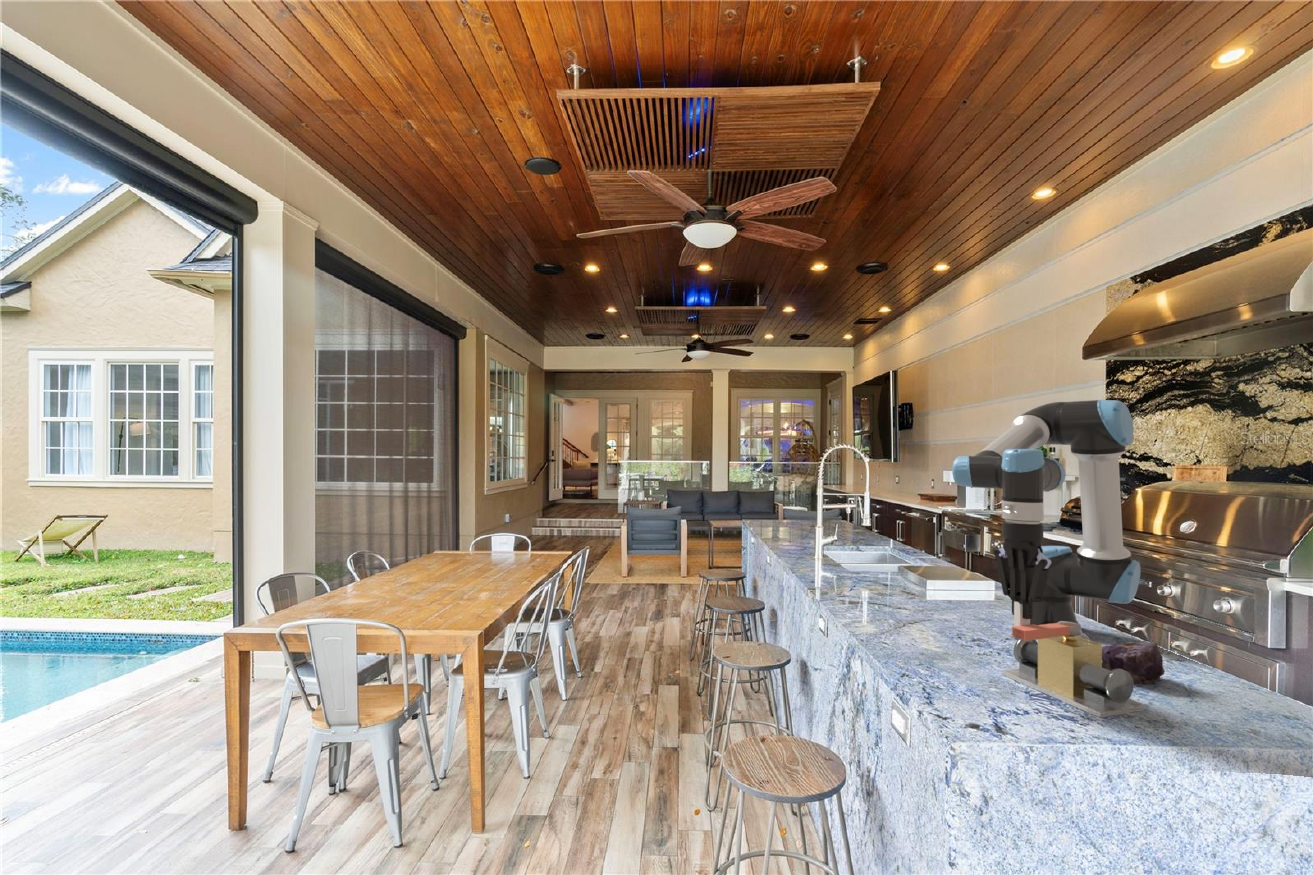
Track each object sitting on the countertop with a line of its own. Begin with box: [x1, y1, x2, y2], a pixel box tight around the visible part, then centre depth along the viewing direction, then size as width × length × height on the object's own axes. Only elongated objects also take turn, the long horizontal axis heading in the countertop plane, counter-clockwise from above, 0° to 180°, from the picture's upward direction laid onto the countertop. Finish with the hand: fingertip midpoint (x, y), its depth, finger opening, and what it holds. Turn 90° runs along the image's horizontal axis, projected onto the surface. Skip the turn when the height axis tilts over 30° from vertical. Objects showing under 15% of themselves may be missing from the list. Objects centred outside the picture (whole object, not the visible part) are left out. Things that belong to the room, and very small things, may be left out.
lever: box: [1011, 621, 1082, 641], centre depth 126 cm, size 16×4×2 cm, turn 107°
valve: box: [1002, 635, 1146, 719], centre depth 128 cm, size 12×22×12 cm, turn 17°
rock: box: [1102, 641, 1165, 685], centre depth 134 cm, size 12×9×10 cm
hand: (1022, 632), depth 127 cm, fingers closed
